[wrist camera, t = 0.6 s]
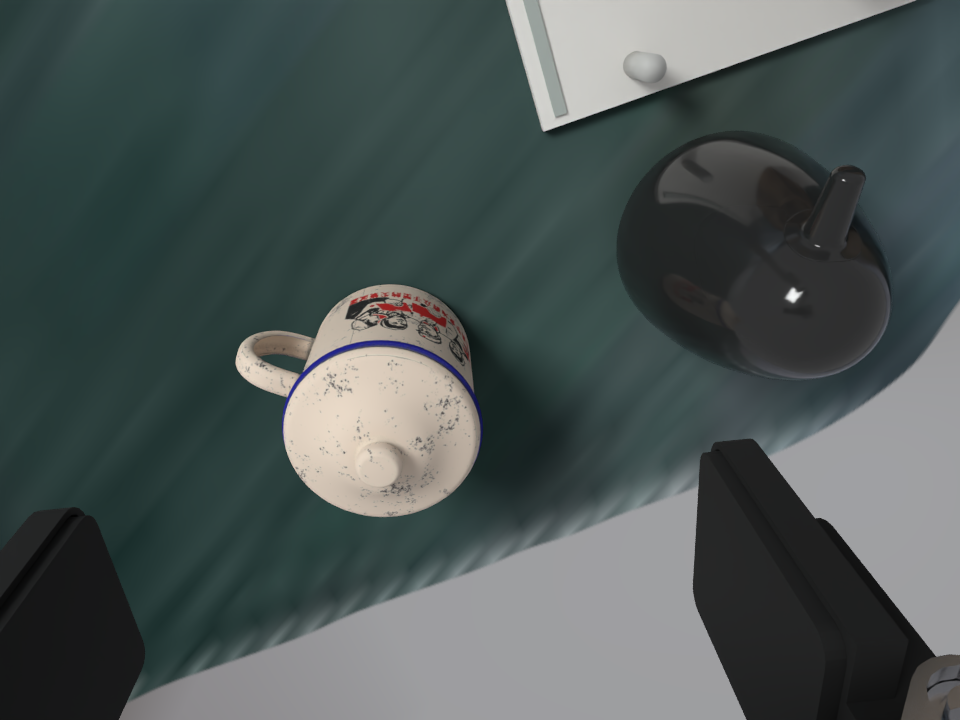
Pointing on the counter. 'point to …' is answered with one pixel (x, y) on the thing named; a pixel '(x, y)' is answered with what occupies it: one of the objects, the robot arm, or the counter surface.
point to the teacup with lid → (376, 401)
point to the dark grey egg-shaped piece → (756, 257)
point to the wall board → (655, 44)
